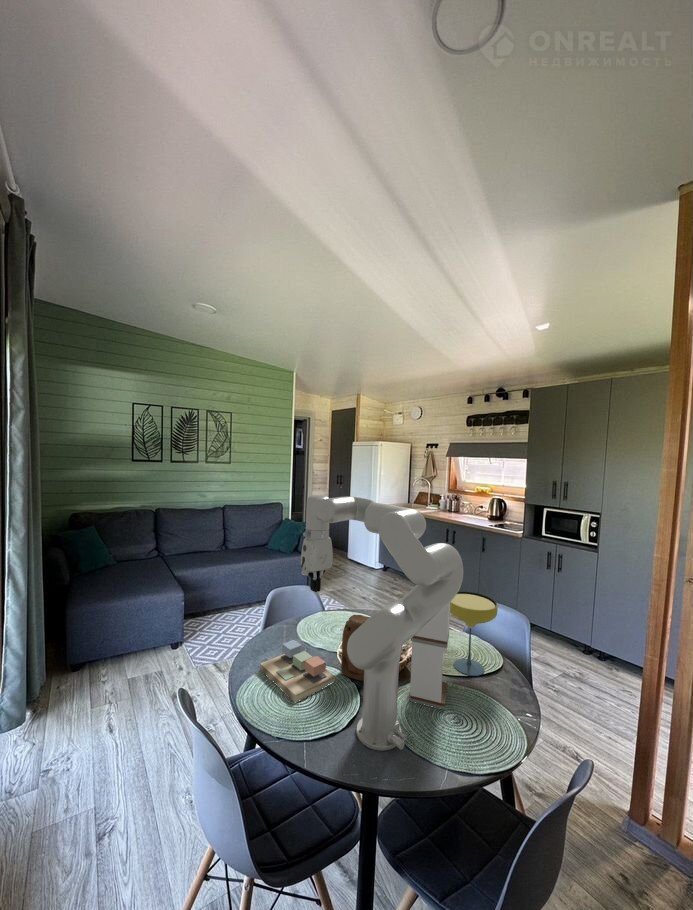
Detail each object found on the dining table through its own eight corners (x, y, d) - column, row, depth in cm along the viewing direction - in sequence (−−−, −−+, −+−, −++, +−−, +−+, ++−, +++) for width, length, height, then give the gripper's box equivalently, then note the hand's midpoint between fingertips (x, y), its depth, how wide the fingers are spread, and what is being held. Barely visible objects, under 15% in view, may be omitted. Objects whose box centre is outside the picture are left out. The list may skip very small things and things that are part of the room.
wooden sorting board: (334, 683, 126) (335, 674, 125) (295, 703, 115) (295, 693, 115) (297, 655, 142) (297, 647, 142) (259, 670, 131) (260, 662, 131)
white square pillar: (444, 710, 114) (448, 596, 114) (409, 701, 117) (414, 591, 117) (446, 688, 125) (450, 584, 125) (415, 681, 128) (419, 580, 128)
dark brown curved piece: (373, 672, 133) (375, 616, 133) (368, 684, 126) (370, 625, 126) (344, 665, 136) (346, 611, 136) (338, 677, 129) (340, 619, 129)
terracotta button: (325, 671, 125) (325, 662, 125) (313, 676, 121) (313, 667, 121) (316, 664, 128) (316, 655, 128) (304, 669, 125) (304, 660, 125)
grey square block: (301, 653, 135) (301, 645, 135) (289, 658, 132) (290, 649, 132) (293, 647, 139) (293, 639, 139) (282, 652, 135) (282, 643, 135)
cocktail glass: (491, 658, 144) (494, 594, 144) (498, 686, 127) (501, 613, 127) (443, 651, 149) (445, 588, 149) (444, 677, 131) (446, 606, 131)
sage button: (312, 665, 130) (313, 656, 130) (301, 670, 126) (301, 661, 126) (304, 659, 134) (304, 650, 134) (292, 664, 130) (293, 655, 130)
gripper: (305, 539, 112) (303, 599, 112) (342, 533, 122) (340, 589, 122) (291, 534, 118) (289, 592, 118) (327, 529, 128) (325, 582, 128)
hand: (315, 590), depth 120 cm, fingers closed
